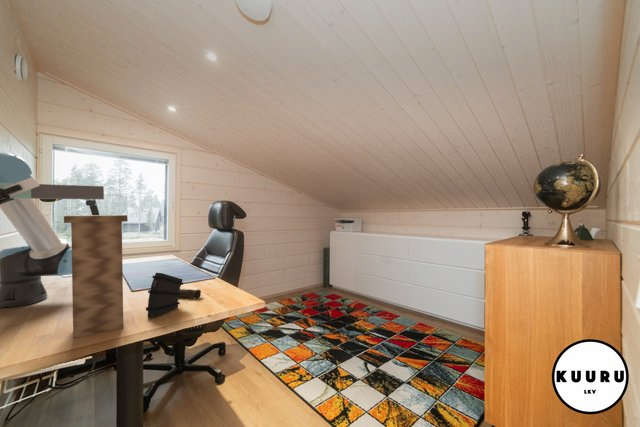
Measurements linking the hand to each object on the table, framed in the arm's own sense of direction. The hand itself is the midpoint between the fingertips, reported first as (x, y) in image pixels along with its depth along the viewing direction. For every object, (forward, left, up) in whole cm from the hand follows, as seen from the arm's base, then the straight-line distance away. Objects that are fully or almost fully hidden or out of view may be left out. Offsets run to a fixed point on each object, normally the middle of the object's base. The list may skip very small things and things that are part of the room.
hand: (37, 182), depth 79 cm
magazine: (+14, +30, -46) cm, 56 cm away
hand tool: (+4, +43, -46) cm, 63 cm away
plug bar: (+2, +3, -5) cm, 6 cm away
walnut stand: (+7, +12, -46) cm, 48 cm away
